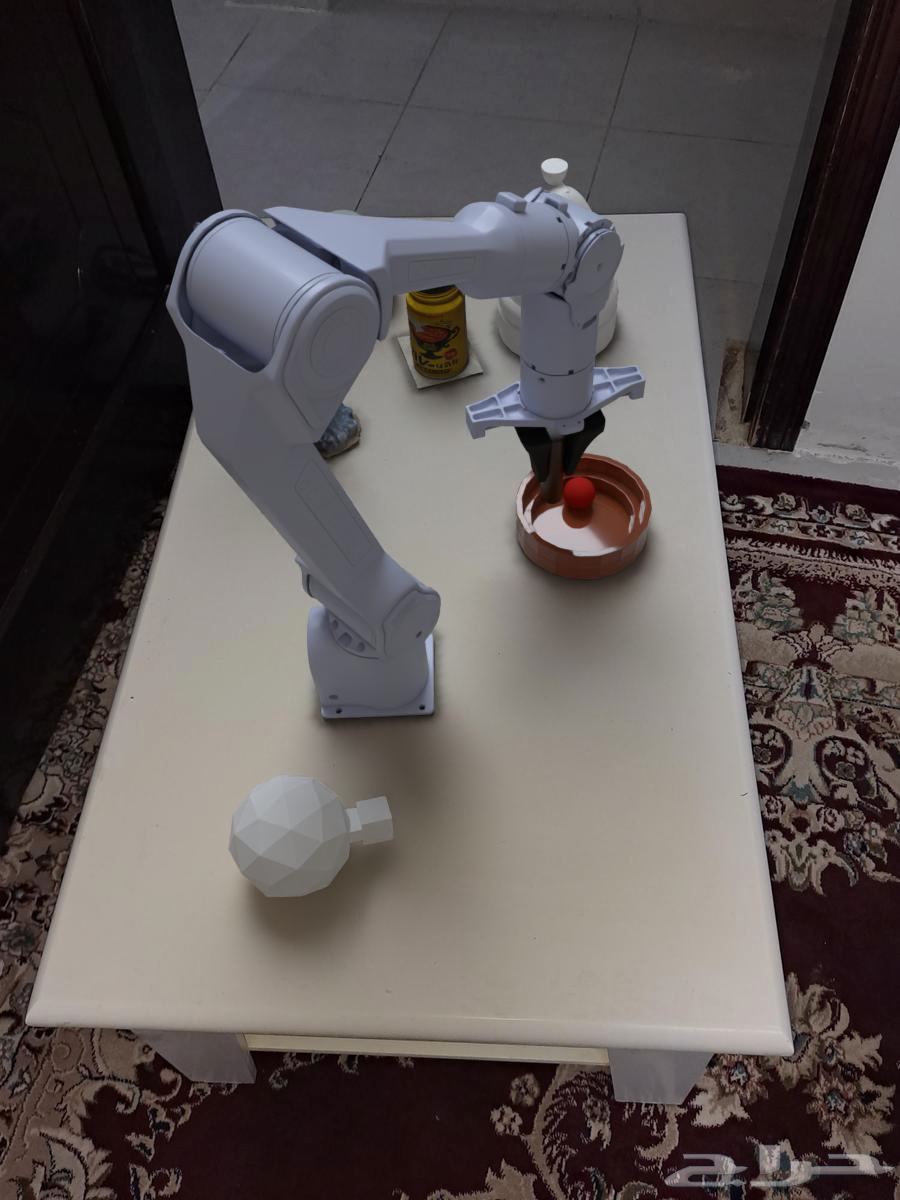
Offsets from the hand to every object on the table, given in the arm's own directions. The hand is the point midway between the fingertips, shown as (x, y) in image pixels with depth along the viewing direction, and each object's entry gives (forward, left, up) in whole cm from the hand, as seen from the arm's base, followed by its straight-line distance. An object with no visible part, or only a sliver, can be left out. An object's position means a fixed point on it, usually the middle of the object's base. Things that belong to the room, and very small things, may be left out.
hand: (552, 470), depth 87 cm
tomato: (+3, +3, -6) cm, 8 cm away
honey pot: (+3, +29, -9) cm, 30 cm away
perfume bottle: (-20, -31, -9) cm, 38 cm away
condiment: (-10, +25, -9) cm, 28 cm away
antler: (-24, +14, -9) cm, 29 cm away
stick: (0, 0, -3) cm, 3 cm away
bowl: (+3, 0, -9) cm, 9 cm away
